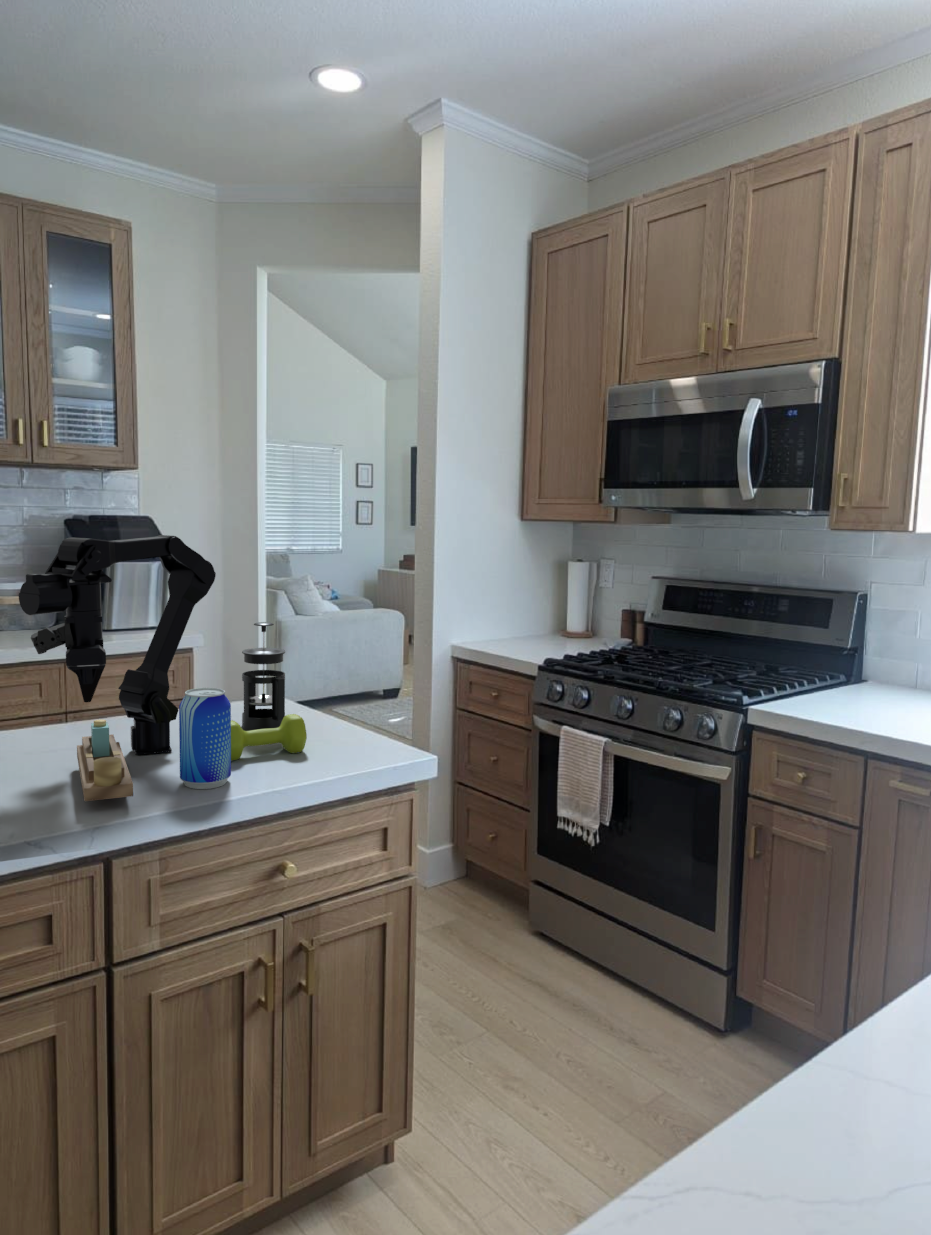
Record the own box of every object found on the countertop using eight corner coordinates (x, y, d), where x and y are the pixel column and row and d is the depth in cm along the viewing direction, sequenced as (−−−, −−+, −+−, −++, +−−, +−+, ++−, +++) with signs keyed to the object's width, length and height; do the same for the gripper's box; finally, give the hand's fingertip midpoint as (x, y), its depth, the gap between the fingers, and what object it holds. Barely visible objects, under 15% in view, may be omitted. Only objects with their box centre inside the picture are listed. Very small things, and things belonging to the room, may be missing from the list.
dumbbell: (224, 765, 161) (224, 727, 160) (214, 754, 167) (213, 717, 167) (310, 755, 169) (310, 719, 168) (296, 745, 176) (296, 710, 175)
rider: (107, 749, 154) (107, 717, 153) (109, 755, 150) (108, 722, 149) (91, 751, 152) (91, 718, 152) (93, 757, 149) (92, 724, 148)
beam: (119, 763, 159) (118, 723, 159) (133, 808, 136) (132, 761, 135) (77, 767, 156) (76, 726, 155) (84, 813, 133) (83, 766, 132)
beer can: (203, 793, 144) (202, 699, 142) (169, 784, 149) (168, 692, 147) (241, 781, 151) (241, 691, 149) (207, 772, 156) (207, 684, 154)
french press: (230, 727, 188) (230, 621, 185) (267, 720, 195) (267, 618, 192) (262, 737, 180) (262, 627, 177) (299, 730, 187) (300, 624, 184)
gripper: (34, 604, 158) (38, 688, 160) (30, 618, 141) (34, 712, 143) (101, 602, 163) (104, 684, 165) (104, 615, 146) (107, 706, 148)
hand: (87, 696), depth 155 cm, fingers open, 9 cm apart
